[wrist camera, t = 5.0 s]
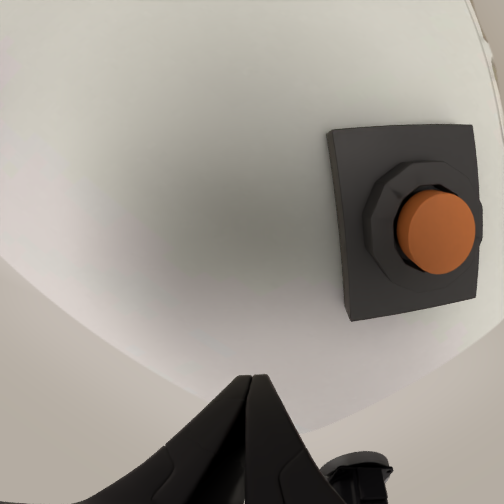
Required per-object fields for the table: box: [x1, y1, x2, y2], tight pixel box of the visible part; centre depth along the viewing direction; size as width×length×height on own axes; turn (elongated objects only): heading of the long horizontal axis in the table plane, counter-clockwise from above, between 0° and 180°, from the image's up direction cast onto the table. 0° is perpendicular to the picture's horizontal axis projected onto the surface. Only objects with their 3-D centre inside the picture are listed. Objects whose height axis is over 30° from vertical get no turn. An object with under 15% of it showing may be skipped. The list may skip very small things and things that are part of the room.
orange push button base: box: [326, 124, 483, 322], centre depth 16 cm, size 11×9×4 cm
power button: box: [397, 190, 475, 274], centre depth 14 cm, size 4×4×2 cm
